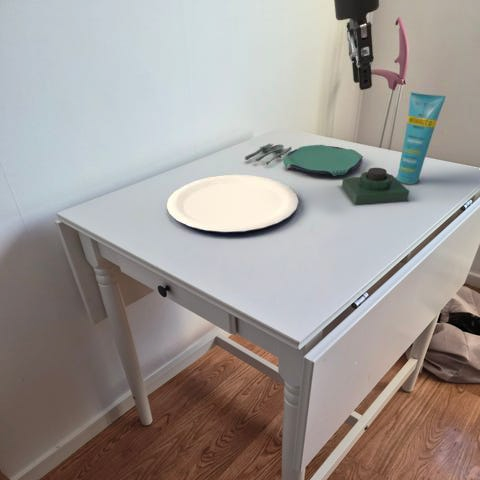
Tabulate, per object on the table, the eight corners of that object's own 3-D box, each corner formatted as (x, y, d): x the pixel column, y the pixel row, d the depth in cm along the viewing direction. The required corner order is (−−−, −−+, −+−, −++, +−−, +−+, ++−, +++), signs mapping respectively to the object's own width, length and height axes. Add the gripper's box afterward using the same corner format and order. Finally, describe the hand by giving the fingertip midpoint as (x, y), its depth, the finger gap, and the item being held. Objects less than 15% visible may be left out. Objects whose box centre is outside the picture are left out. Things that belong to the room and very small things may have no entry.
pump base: (389, 183, 102) (393, 166, 100) (407, 200, 95) (411, 183, 92) (341, 186, 101) (343, 170, 99) (355, 204, 94) (358, 187, 91)
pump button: (381, 174, 97) (382, 166, 96) (388, 181, 94) (389, 173, 93) (364, 175, 97) (365, 168, 96) (370, 182, 94) (372, 174, 93)
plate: (220, 172, 110) (220, 166, 109) (321, 197, 97) (322, 190, 96) (139, 215, 93) (138, 207, 91) (249, 253, 79) (249, 245, 78)
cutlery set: (344, 185, 102) (346, 176, 100) (239, 164, 114) (239, 155, 113) (371, 159, 115) (373, 151, 113) (273, 143, 127) (274, 135, 126)
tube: (389, 180, 103) (407, 94, 91) (395, 174, 106) (413, 89, 94) (420, 187, 100) (443, 97, 88) (425, 180, 103) (449, 92, 91)
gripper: (385, -27, 67) (389, 86, 76) (370, -23, 78) (376, 74, 87) (337, -12, 69) (347, 97, 78) (329, -11, 80) (339, 84, 89)
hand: (362, 85), depth 83 cm, fingers open, 8 cm apart
